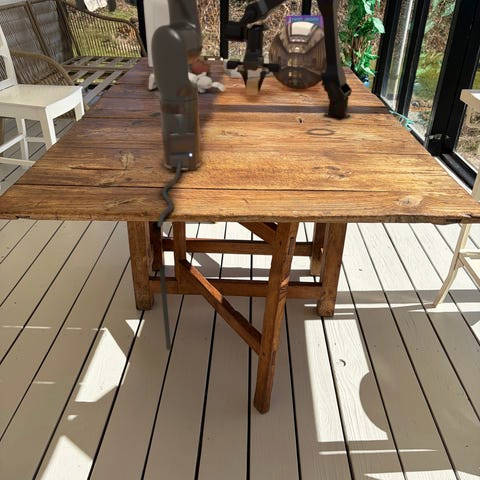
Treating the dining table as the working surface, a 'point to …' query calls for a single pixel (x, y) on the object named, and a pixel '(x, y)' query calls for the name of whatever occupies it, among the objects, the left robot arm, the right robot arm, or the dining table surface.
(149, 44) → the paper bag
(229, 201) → the dining table surface
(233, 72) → the disc drive
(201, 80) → the toy
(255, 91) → the brick
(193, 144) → the left robot arm
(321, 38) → the sphere
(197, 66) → the anatomical model
